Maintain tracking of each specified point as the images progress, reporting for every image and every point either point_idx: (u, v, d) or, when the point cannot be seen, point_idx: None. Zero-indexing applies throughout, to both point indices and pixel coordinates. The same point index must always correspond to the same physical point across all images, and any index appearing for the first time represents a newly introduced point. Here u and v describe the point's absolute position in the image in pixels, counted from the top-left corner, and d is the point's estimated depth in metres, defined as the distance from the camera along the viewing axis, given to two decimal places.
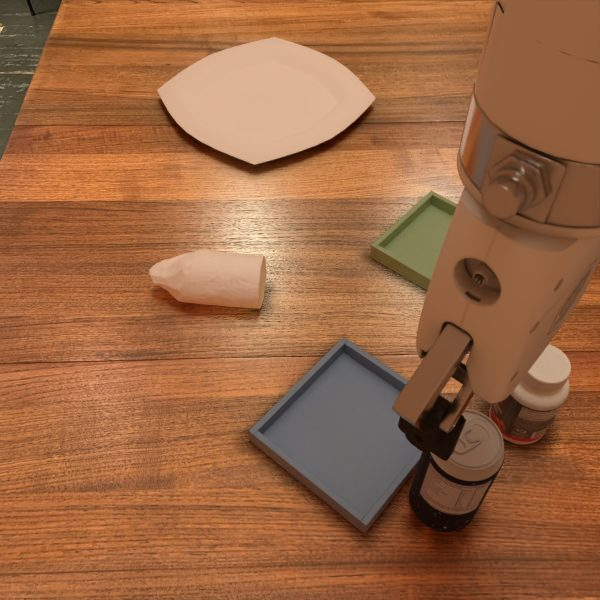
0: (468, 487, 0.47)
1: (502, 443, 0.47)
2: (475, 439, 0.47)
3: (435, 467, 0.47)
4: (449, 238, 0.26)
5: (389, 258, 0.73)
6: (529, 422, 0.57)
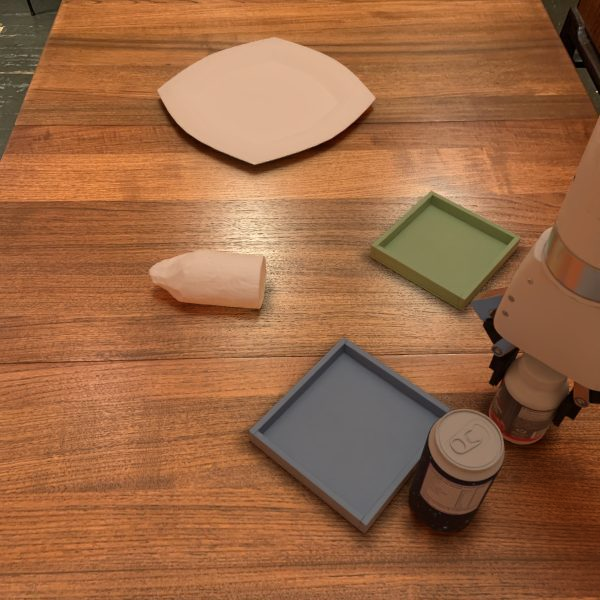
0: (469, 487, 0.47)
1: (502, 443, 0.47)
2: (475, 439, 0.47)
3: (435, 468, 0.47)
4: None
5: (389, 258, 0.73)
6: (529, 422, 0.57)
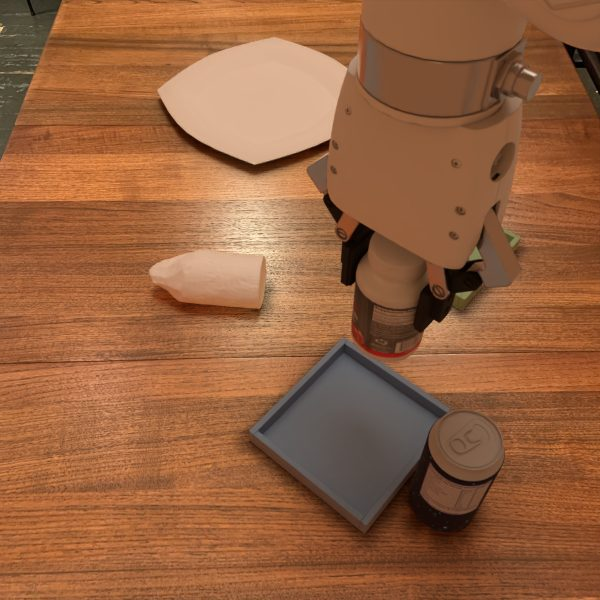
0: (469, 487, 0.47)
1: (502, 443, 0.47)
2: (475, 439, 0.47)
3: (435, 468, 0.47)
4: (480, 160, 0.31)
5: None
6: (387, 327, 0.44)
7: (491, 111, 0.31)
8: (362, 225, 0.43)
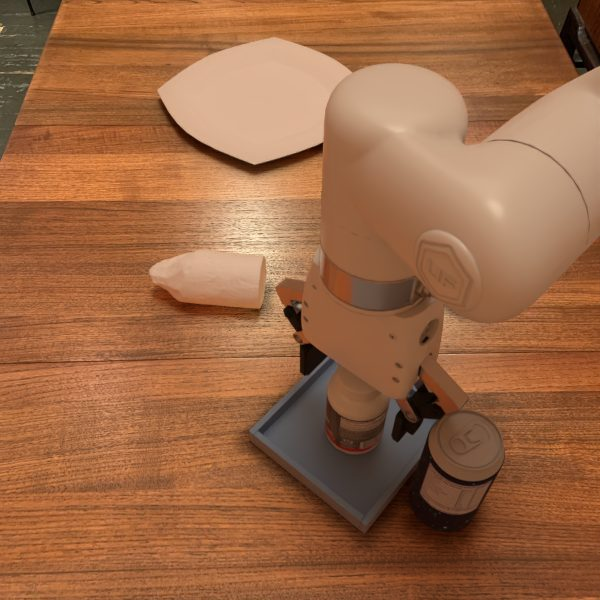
0: (468, 487, 0.47)
1: (502, 443, 0.47)
2: (475, 439, 0.47)
3: (435, 468, 0.47)
4: (410, 336, 0.42)
5: None
6: (352, 432, 0.55)
7: (417, 302, 0.42)
8: None
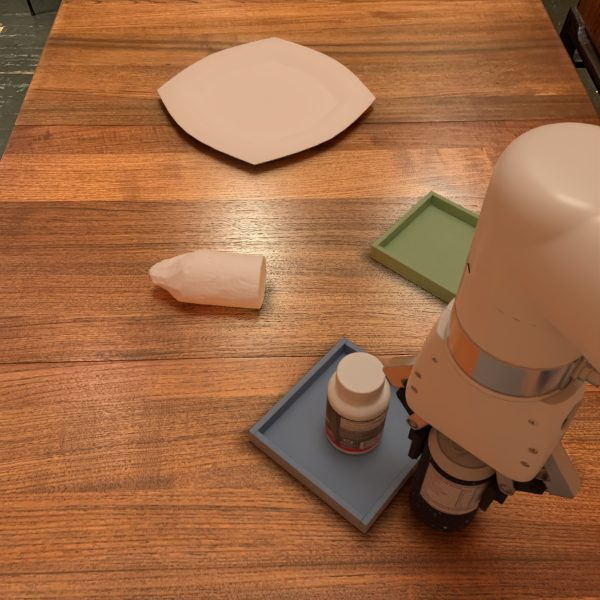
0: (468, 487, 0.47)
1: None
2: None
3: (435, 467, 0.47)
4: (554, 422, 0.37)
5: (389, 258, 0.73)
6: (352, 432, 0.55)
7: (565, 385, 0.36)
8: None
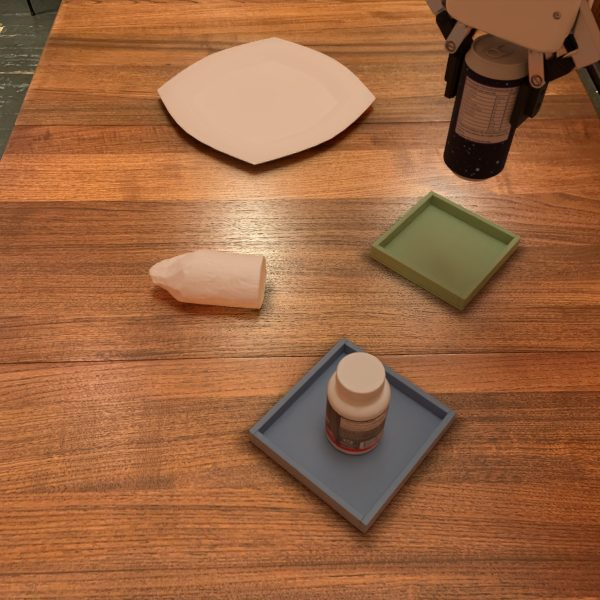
0: (502, 90, 0.52)
1: None
2: (508, 50, 0.53)
3: (471, 77, 0.53)
4: None
5: (389, 258, 0.73)
6: (352, 432, 0.55)
7: None
8: (466, 40, 0.54)
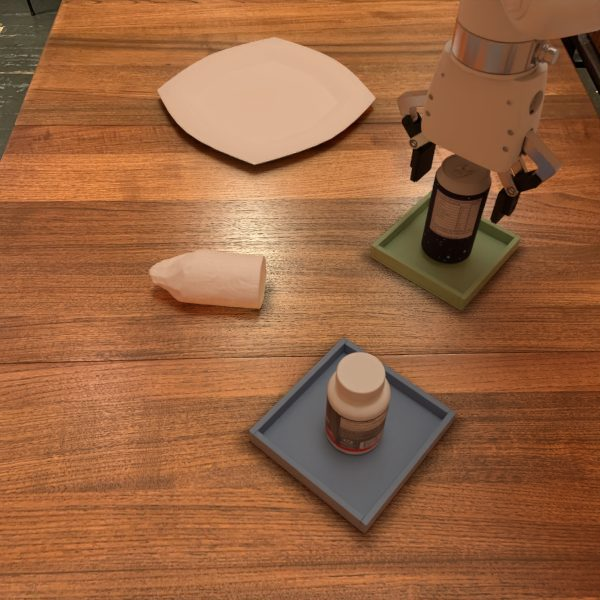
0: (465, 202, 0.65)
1: (489, 171, 0.65)
2: (470, 170, 0.66)
3: (441, 191, 0.66)
4: (524, 100, 0.55)
5: (389, 258, 0.73)
6: (352, 432, 0.55)
7: (530, 71, 0.54)
8: None
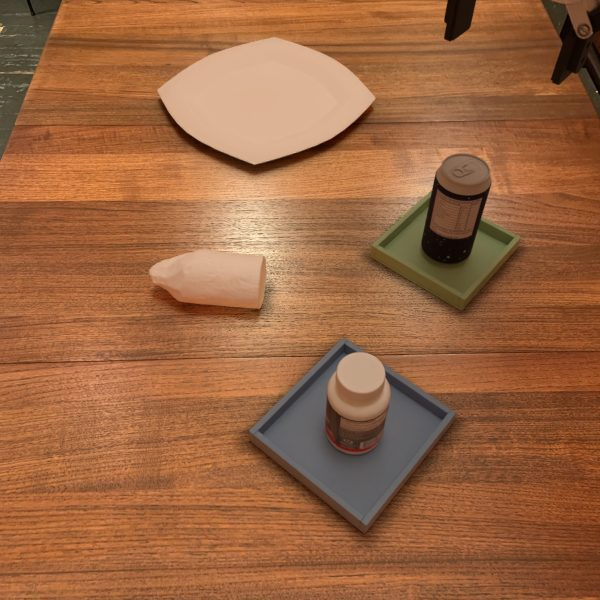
0: (465, 202, 0.65)
1: (489, 171, 0.65)
2: (470, 170, 0.66)
3: (441, 191, 0.66)
4: None
5: (389, 258, 0.73)
6: (352, 432, 0.55)
7: None
8: None
